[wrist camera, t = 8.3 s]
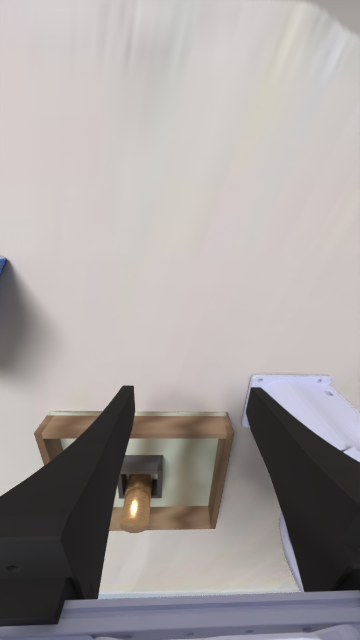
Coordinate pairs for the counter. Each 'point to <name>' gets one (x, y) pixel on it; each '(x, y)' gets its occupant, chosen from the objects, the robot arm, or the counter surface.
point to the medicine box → (2, 262)
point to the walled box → (160, 462)
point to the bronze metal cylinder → (137, 503)
